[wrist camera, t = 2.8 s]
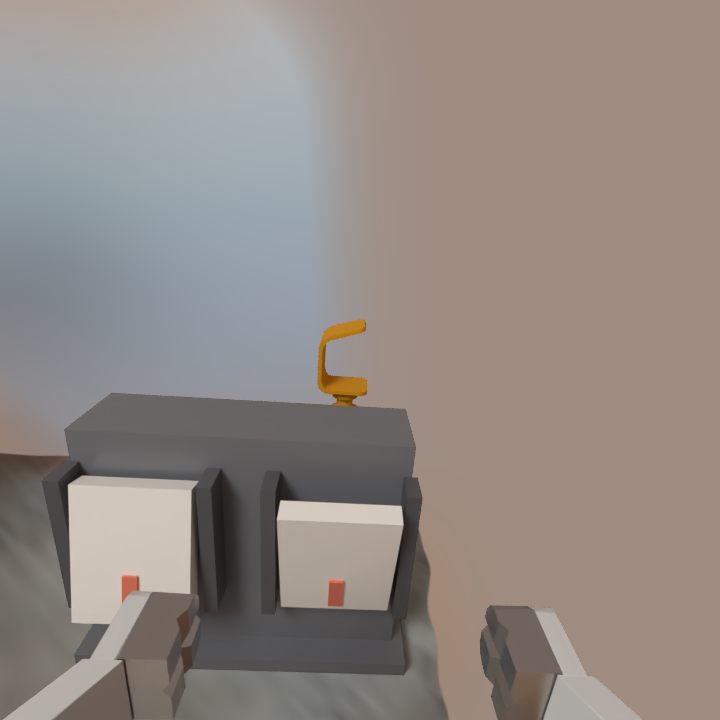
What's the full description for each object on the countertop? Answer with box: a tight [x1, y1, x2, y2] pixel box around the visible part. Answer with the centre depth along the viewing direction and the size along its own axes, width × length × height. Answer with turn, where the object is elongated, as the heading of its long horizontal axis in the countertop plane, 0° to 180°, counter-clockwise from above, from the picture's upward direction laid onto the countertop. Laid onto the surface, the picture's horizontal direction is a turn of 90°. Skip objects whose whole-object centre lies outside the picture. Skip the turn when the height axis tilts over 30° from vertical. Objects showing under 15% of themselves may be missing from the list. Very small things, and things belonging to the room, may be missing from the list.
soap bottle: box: [318, 319, 367, 406], centre depth 47 cm, size 9×9×25 cm
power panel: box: [42, 393, 422, 675], centre depth 35 cm, size 26×10×20 cm, turn 91°
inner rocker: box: [68, 476, 199, 624], centre depth 29 cm, size 8×2×10 cm, turn 91°
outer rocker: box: [277, 500, 404, 611], centre depth 30 cm, size 8×2×10 cm, turn 91°
